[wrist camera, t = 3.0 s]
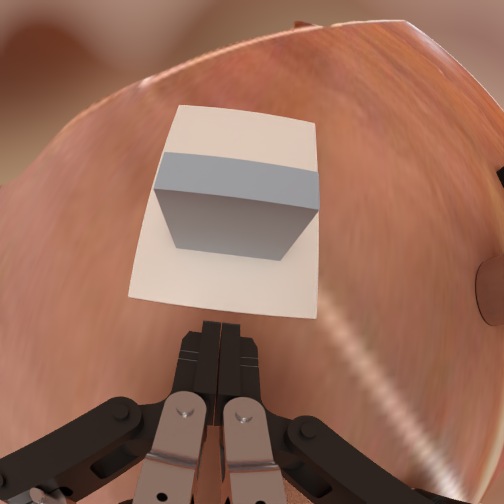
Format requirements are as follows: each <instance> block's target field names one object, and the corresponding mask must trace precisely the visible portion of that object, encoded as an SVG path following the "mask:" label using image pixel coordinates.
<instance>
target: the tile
mask: <svg viewBox="0 0 504 504" xmlns="http://www.w3.org/2000/svg"><path fill="white" fill-rule="evenodd" d="M153 189H154V192H155V194H156V197H157V200H158V203H159V205H160V208H161V211H162V213H163V216H164V219H165V221H166V224H167V226H168V229H169V232H170V234H171V237H172V239H173V242H174V244H175V247H176V248H179V249H187V250H195V251H203V252H211V253H219V254H227V255H236V256H244V257H252V258H260V259H269V260H277V261H281V259H282V258H283V257H284V256H285V254H286V253H287V252H288V250H289V249H290V248H291V247H292V245H293V244H294V243H295V241H296V240H297V239H298V237H299V236H300V235H301V234H302V232H303V231H304V230H305V228H306V227H307V226H308V224H309V223H310V222H311V221H312V219H313V218H314V217H315V215H316V214H317V213H318V211H319V210H320V202H319V172H315V171H309V170H304V169H299V168H293V167H287V166H281V165H275V164H269V163H262V162H256V161H248V160H241V159H233V158H225V157H216V156H207V155H197V154H185V153H173V152H164V155H163V158H162V161H161V164H160V167H159V171H158V174H157V178H156V181H155V185H154V188H153Z"/></svg>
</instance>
